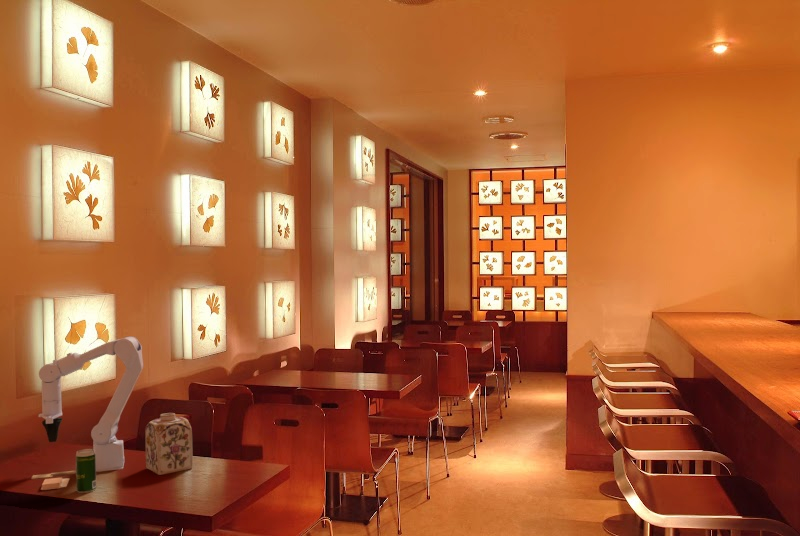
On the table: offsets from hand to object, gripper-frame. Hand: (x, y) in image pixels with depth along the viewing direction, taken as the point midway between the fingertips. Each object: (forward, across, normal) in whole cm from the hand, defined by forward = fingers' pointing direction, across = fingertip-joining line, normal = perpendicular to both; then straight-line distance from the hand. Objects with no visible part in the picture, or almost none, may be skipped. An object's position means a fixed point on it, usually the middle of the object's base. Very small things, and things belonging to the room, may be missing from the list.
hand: (52, 441), depth 236 cm
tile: (+9, +16, +2) cm, 19 cm away
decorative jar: (+10, +12, +36) cm, 39 cm away
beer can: (+10, +28, +12) cm, 32 cm away
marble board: (+10, +16, +2) cm, 19 cm away
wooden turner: (+10, +6, +1) cm, 12 cm away
